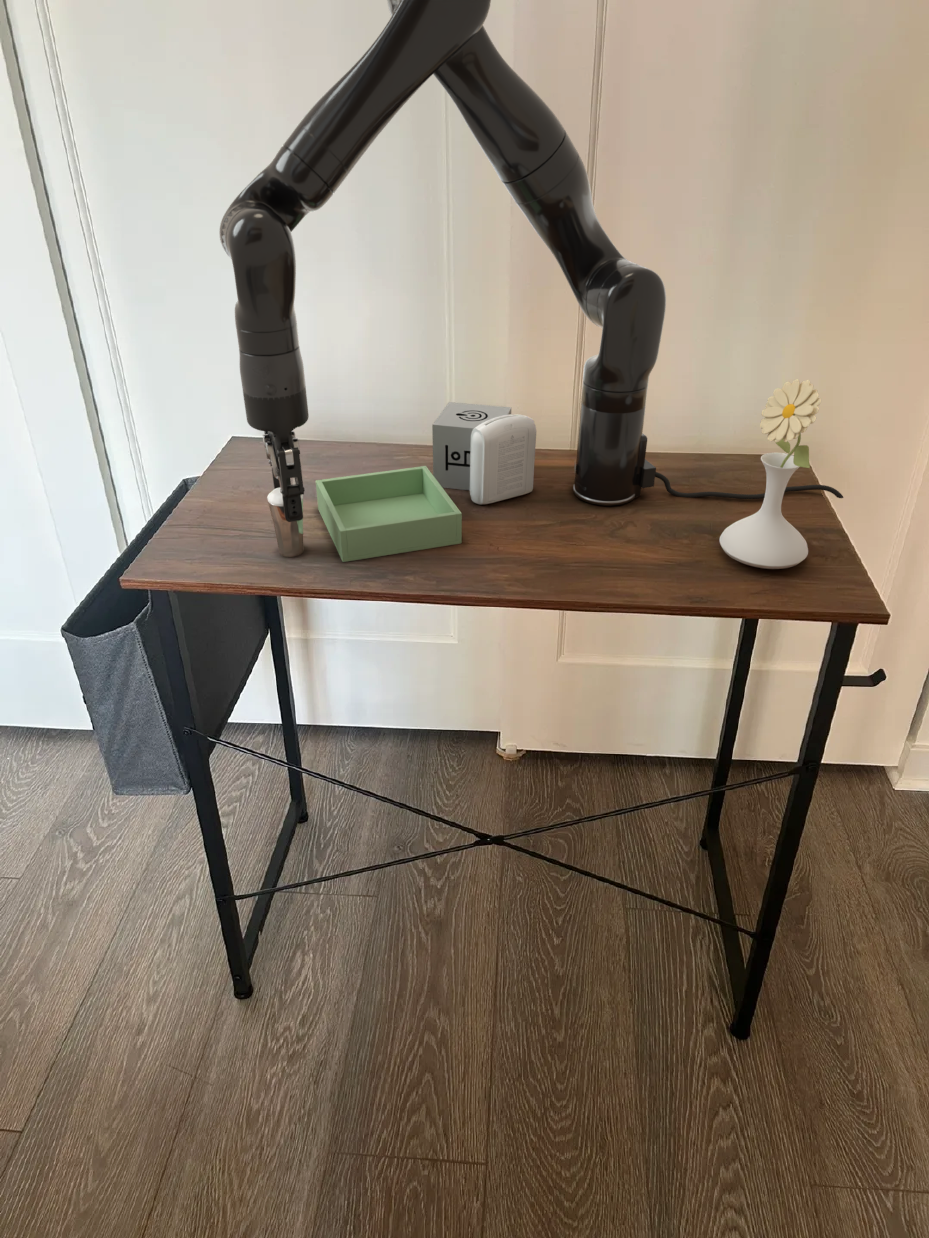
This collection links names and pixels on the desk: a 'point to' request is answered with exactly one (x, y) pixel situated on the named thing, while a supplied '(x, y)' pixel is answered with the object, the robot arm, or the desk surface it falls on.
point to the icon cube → (458, 441)
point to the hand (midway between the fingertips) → (288, 506)
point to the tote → (388, 513)
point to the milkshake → (285, 526)
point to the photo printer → (502, 458)
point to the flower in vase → (776, 483)
